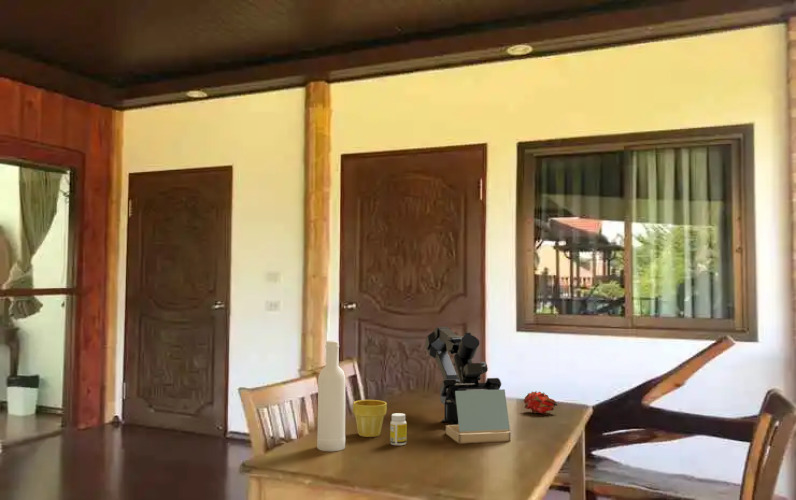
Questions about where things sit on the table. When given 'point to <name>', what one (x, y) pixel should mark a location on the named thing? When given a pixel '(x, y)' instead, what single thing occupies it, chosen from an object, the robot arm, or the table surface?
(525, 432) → the table surface
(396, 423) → the supplement bottle
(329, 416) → the bottle
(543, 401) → the dragon fruit
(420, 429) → the table surface
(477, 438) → the wooden tray
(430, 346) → the robot arm
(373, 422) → the plant pot
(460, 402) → the lid
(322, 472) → the table surface
